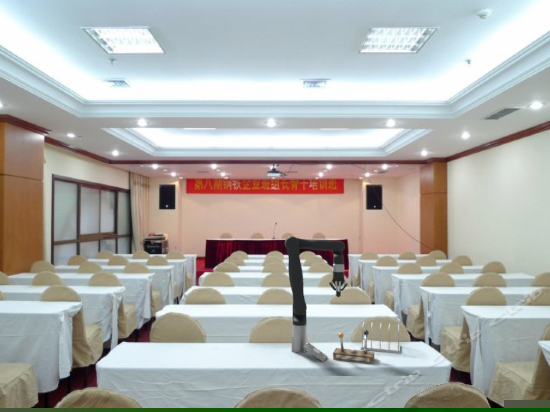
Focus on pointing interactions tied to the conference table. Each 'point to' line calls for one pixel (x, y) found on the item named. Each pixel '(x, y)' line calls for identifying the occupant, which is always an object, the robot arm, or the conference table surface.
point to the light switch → (315, 352)
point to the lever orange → (341, 340)
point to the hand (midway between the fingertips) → (338, 296)
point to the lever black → (365, 341)
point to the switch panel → (353, 355)
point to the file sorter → (380, 342)
